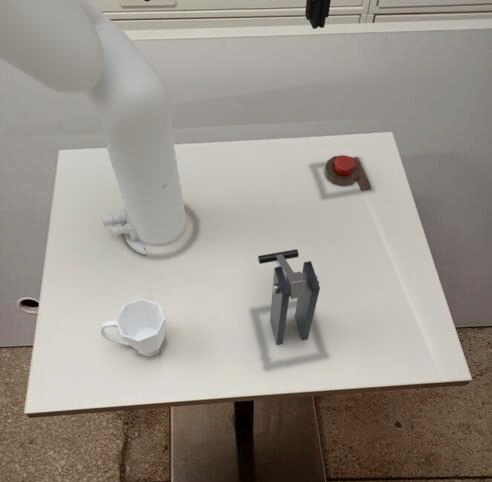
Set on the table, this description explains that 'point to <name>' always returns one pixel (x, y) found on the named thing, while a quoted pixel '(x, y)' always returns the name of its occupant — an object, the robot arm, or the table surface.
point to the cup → (139, 326)
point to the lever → (288, 272)
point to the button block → (357, 176)
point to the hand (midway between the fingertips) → (315, 22)
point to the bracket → (304, 304)
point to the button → (344, 165)
